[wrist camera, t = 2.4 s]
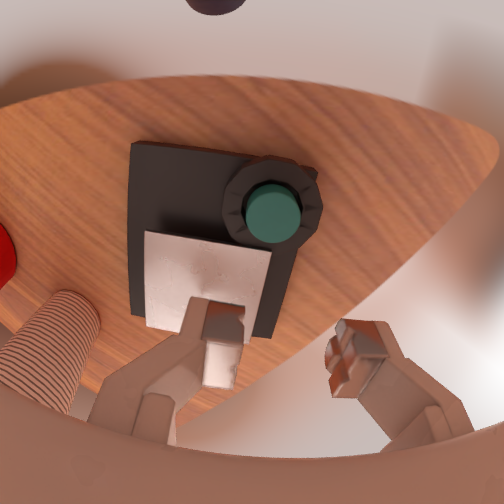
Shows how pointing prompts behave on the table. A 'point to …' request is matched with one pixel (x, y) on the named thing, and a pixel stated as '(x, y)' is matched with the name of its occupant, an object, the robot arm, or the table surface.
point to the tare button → (272, 213)
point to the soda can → (6, 257)
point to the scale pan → (200, 276)
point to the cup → (51, 351)
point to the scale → (214, 209)
